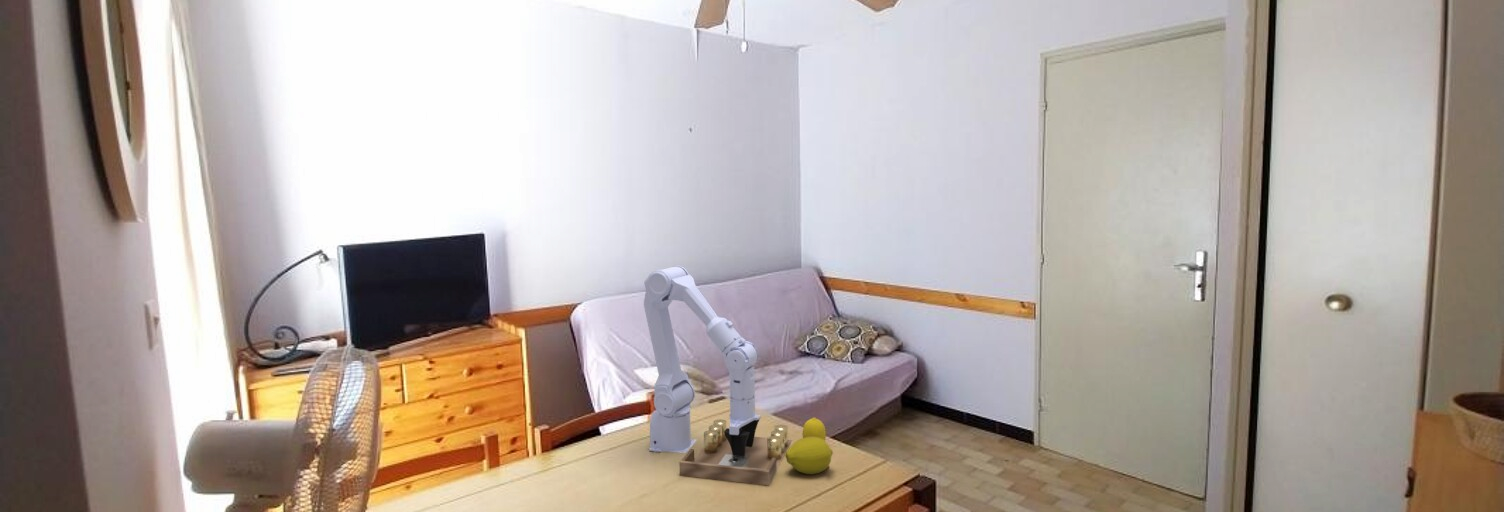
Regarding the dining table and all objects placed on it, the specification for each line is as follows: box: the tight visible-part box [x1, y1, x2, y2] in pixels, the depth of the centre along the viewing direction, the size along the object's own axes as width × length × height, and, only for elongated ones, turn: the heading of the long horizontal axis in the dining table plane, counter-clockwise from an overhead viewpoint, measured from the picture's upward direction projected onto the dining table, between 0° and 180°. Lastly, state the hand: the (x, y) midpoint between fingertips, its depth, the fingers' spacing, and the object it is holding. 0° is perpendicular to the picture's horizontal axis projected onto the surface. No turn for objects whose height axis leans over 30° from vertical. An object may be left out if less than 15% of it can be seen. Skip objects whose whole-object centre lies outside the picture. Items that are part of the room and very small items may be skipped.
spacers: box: [703, 418, 789, 460], centre depth 149 cm, size 19×10×4 cm, turn 75°
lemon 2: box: [784, 437, 833, 475], centre depth 137 cm, size 11×8×8 cm
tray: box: [678, 436, 793, 487], centre depth 145 cm, size 20×24×4 cm
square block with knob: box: [718, 454, 750, 468], centre depth 137 cm, size 6×6×2 cm
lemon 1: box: [802, 417, 827, 442], centre depth 149 cm, size 6×6×8 cm
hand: (743, 452), depth 144 cm, fingers open, 7 cm apart
